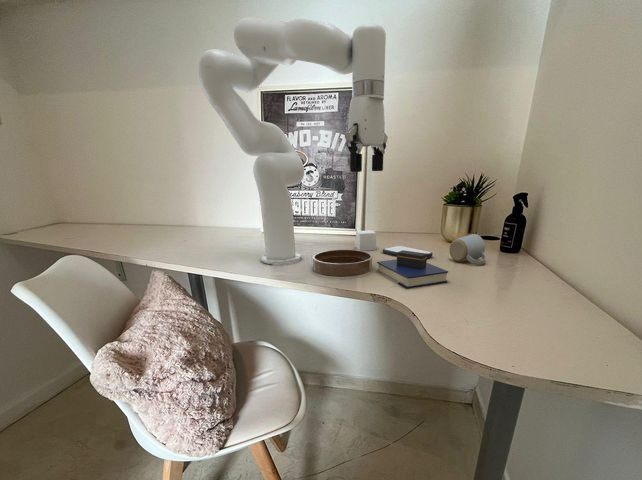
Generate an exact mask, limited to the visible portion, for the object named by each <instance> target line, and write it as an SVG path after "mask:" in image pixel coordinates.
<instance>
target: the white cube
mask: <svg viewBox="0 0 642 480" xmlns="http://www.w3.org/2000/svg"><path fill="white" fill-rule="evenodd" d="M355 248H356V250H360V251H365V252H366V251H377V232H375V231H374V230H372V229H370V230H369V229H368V230H355Z"/></svg>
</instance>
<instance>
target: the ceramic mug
mask: <svg viewBox="0 0 642 480" xmlns="http://www.w3.org/2000/svg"><path fill="white" fill-rule="evenodd" d="M448 250H449V255H450V257H451V258H452V259H453V260H454V261H455V262H458V263H460V262H461V263H462V262H467V261H468V263H471V264H472V265H475V266H482V265H484V264H485V263H486V262H487V255H486V254H485V250H486V244H485V241H484V239H483V238H482V237H481V235H479V234H477V233H473V234H469V235H466V236H461V237H458V238H456V239H453V241H452V242H451V243H450V245H449V249H448ZM478 259H482V260H478Z"/></svg>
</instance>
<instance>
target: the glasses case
mask: <svg viewBox="0 0 642 480" xmlns="http://www.w3.org/2000/svg"><path fill="white" fill-rule="evenodd" d="M396 259H397V266H403V267H409V268H414V269H420V270H421V269H423V268H425V267H426V263H428V262H427V260H428V258H427V254H426V253H419V252H412V251H405V250H402V251H399V252H397V256H396Z"/></svg>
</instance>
